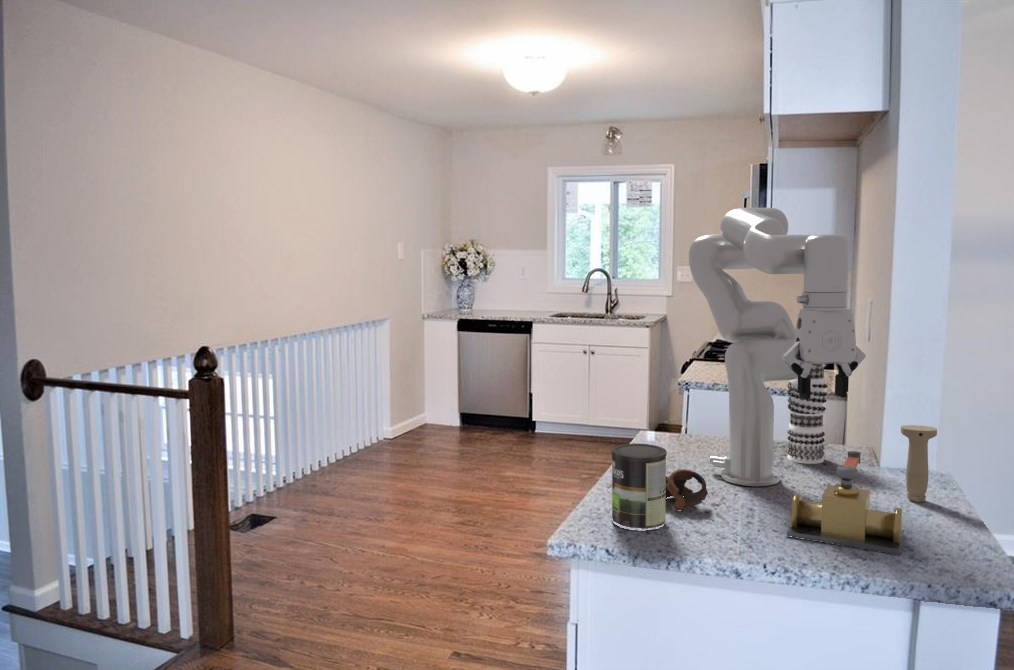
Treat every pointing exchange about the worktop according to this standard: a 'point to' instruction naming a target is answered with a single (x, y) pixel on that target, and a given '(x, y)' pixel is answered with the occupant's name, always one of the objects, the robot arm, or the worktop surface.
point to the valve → (846, 520)
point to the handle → (917, 460)
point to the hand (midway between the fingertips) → (822, 396)
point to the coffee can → (638, 485)
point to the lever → (849, 466)
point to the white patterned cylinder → (807, 419)
